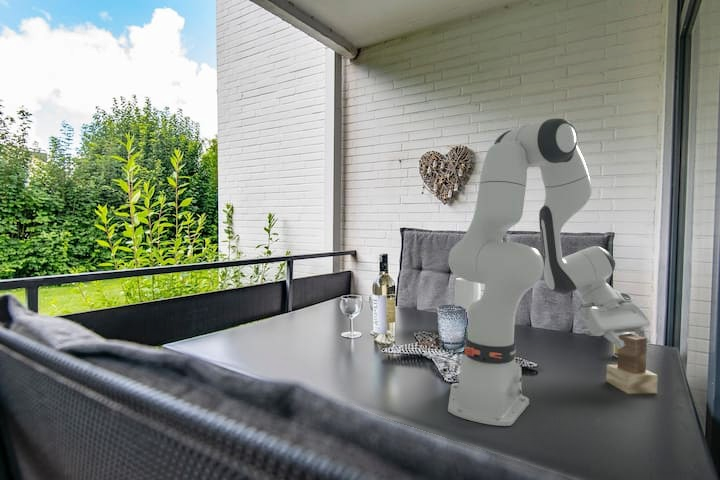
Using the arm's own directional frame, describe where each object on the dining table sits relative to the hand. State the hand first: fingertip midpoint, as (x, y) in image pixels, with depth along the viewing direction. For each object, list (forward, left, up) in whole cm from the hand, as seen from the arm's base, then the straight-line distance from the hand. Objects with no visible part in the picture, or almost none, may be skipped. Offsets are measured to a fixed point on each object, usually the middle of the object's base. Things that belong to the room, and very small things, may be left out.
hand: (635, 346), depth 106 cm
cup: (+33, +51, -12) cm, 62 cm away
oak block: (0, 0, -12) cm, 12 cm away
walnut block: (0, +1, -7) cm, 7 cm away
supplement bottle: (+29, -1, -12) cm, 32 cm away
